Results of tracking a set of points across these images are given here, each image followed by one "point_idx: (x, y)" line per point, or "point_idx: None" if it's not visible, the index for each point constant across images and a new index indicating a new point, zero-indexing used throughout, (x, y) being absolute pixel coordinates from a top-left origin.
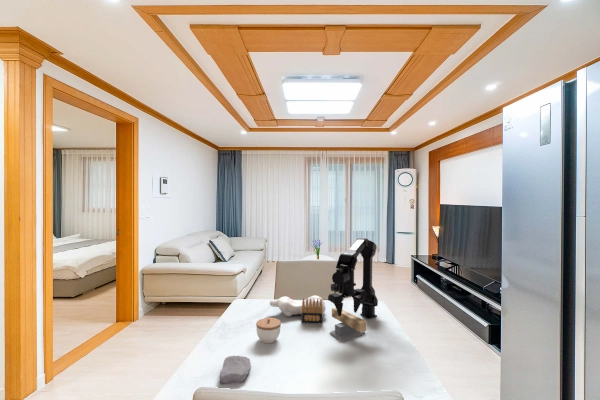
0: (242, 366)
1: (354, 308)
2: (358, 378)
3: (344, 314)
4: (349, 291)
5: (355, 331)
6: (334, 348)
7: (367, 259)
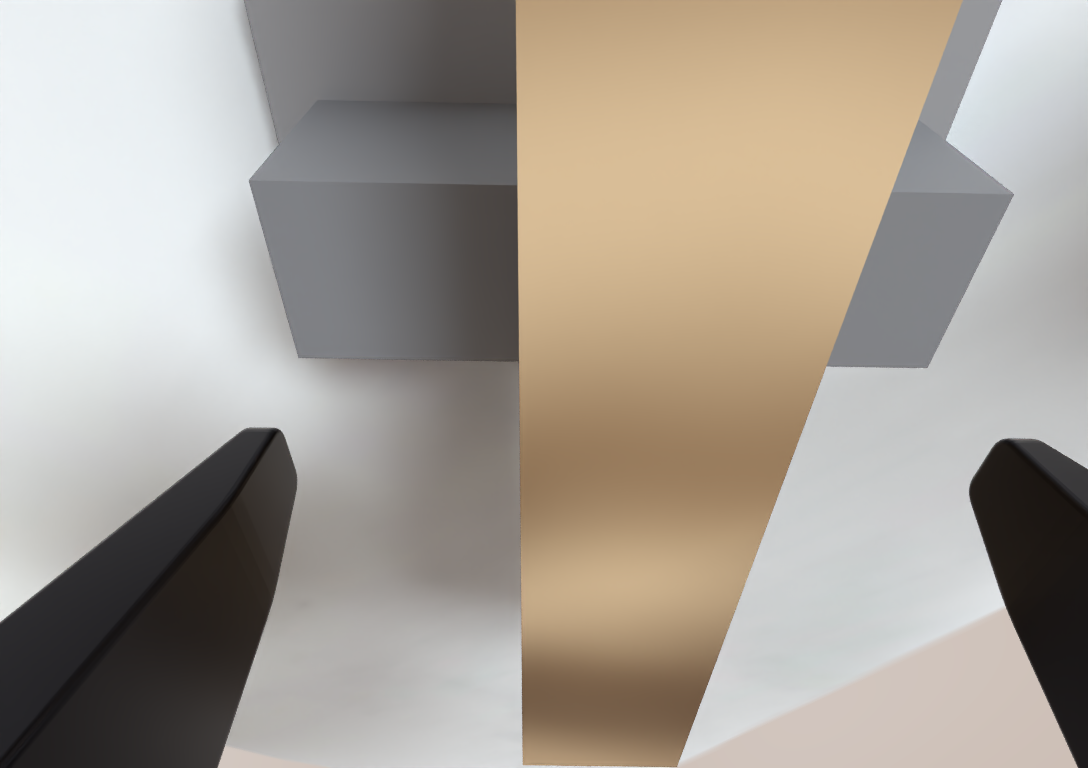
0: None
1: (1084, 571)
2: None
3: (541, 412)
4: None
5: None
6: (141, 403)
7: None
